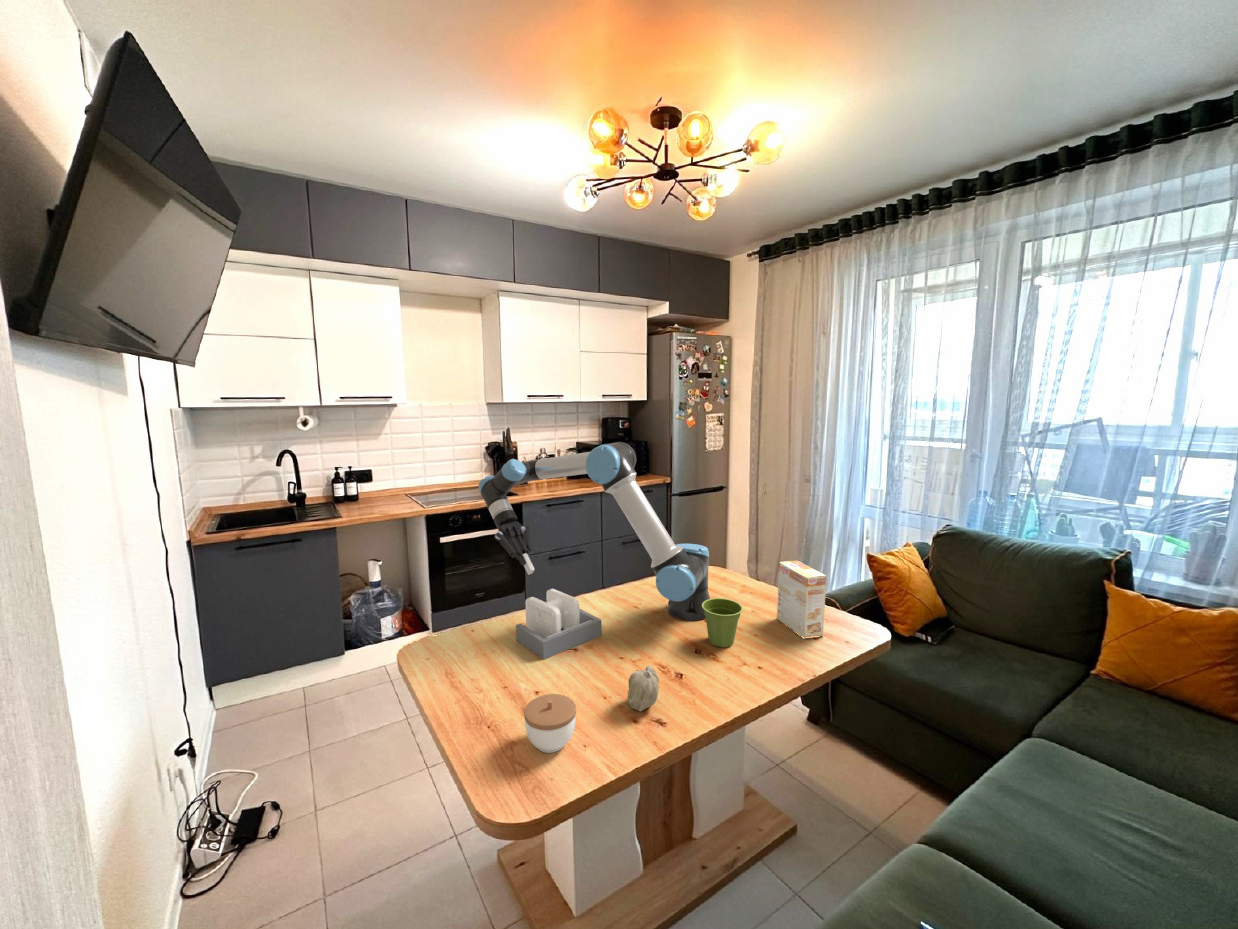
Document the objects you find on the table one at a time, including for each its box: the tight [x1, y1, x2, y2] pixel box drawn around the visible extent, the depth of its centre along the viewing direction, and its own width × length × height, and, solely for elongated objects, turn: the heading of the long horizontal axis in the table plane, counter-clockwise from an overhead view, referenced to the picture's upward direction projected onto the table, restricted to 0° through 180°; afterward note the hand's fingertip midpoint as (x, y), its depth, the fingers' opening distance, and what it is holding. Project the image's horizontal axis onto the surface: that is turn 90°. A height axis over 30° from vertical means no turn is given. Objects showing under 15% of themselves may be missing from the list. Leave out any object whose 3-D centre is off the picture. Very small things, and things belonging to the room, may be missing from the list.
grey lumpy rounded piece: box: [627, 665, 660, 712], centre depth 116 cm, size 9×8×10 cm
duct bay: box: [515, 608, 603, 660], centre depth 149 cm, size 14×21×5 cm
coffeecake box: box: [776, 560, 827, 638], centre depth 154 cm, size 15×7×20 cm, turn 14°
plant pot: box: [702, 597, 744, 648], centre depth 146 cm, size 12×12×11 cm
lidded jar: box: [523, 693, 577, 754], centre depth 103 cm, size 11×11×9 cm
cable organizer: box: [525, 588, 580, 639], centre depth 151 cm, size 15×11×12 cm
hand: (531, 572), depth 163 cm, fingers closed
